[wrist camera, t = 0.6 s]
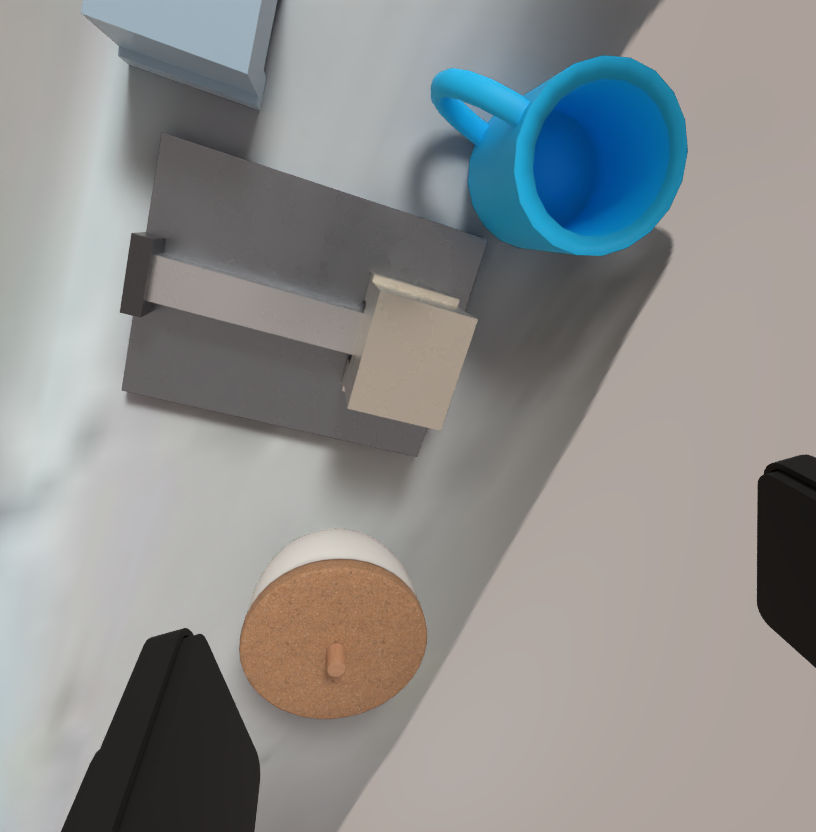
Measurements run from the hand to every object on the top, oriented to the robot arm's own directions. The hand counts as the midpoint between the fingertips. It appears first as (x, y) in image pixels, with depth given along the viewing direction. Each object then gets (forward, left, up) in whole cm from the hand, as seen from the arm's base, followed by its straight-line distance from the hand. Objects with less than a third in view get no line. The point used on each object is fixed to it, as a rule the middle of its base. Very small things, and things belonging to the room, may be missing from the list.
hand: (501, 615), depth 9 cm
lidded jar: (+17, +2, -27) cm, 32 cm away
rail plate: (0, -4, -26) cm, 27 cm away
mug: (-12, +5, -27) cm, 29 cm away
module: (-13, -12, -26) cm, 32 cm away
